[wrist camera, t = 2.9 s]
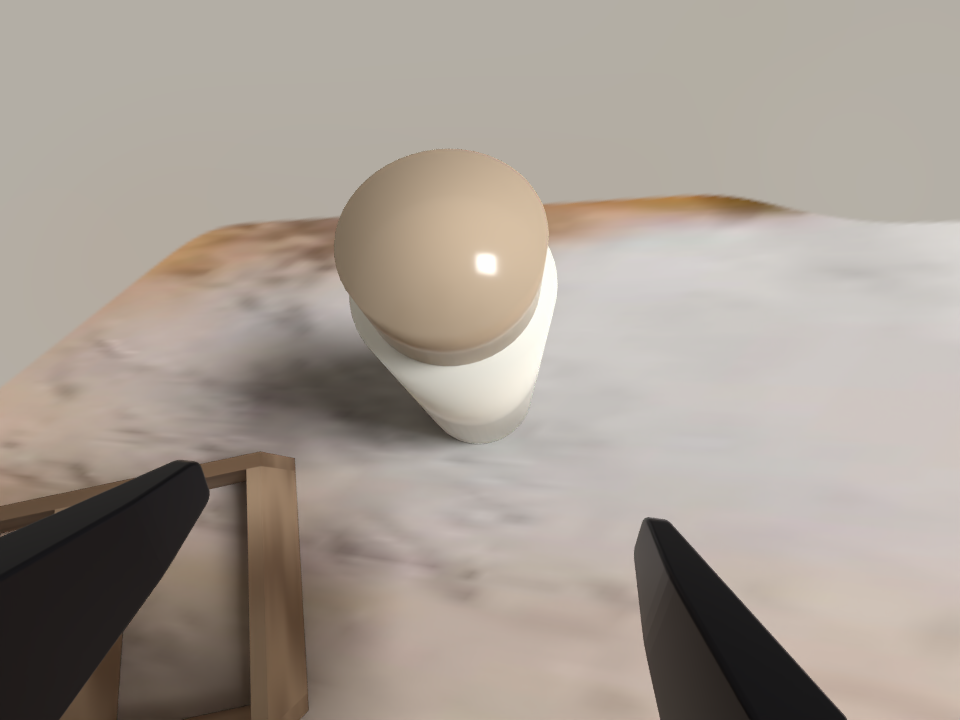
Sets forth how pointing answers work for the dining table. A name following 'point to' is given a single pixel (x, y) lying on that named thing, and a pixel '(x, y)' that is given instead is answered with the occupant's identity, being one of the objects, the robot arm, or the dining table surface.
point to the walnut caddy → (270, 591)
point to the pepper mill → (452, 285)
